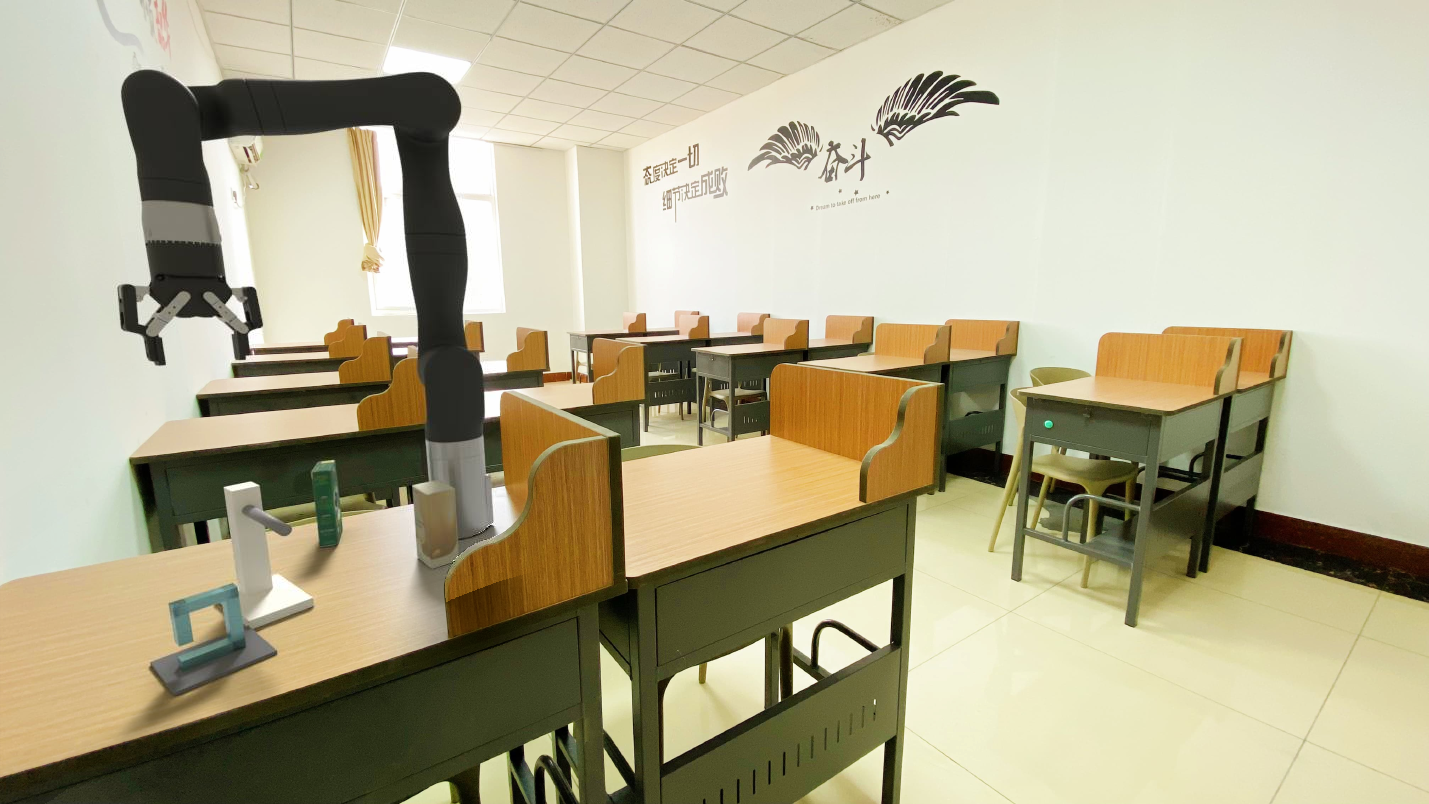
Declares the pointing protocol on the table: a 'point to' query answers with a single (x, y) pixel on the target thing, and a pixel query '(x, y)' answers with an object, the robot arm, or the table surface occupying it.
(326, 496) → the coffee box
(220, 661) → the pad
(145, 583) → the table surface
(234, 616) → the c link
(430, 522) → the skincare box
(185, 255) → the robot arm
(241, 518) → the stand
